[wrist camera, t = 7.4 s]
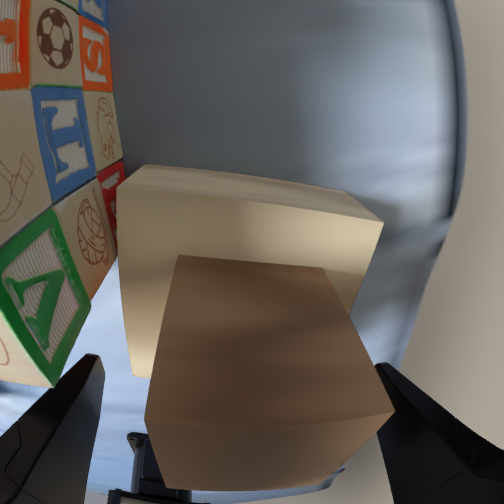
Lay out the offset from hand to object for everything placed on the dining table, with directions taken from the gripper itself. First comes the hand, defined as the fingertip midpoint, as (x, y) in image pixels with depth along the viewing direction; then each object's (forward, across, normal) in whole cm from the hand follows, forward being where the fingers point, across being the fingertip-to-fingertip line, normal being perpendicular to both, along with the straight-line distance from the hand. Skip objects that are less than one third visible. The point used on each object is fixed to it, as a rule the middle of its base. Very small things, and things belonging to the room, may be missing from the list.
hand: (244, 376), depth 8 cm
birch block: (+7, 0, 0) cm, 7 cm away
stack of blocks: (+7, +10, -11) cm, 17 cm away
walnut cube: (+3, 0, 0) cm, 3 cm away
